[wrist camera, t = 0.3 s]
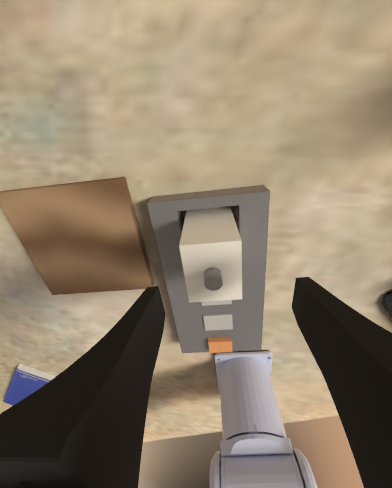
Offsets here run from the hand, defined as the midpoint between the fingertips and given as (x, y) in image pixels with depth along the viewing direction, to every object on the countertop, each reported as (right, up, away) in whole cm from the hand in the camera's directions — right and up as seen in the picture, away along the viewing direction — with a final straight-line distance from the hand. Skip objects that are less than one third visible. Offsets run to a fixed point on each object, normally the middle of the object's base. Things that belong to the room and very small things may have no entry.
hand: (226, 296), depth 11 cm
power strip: (0, -1, +12) cm, 12 cm away
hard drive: (-30, -22, +26) cm, 45 cm away
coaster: (-13, +3, +11) cm, 17 cm away
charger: (0, +4, +9) cm, 10 cm away
